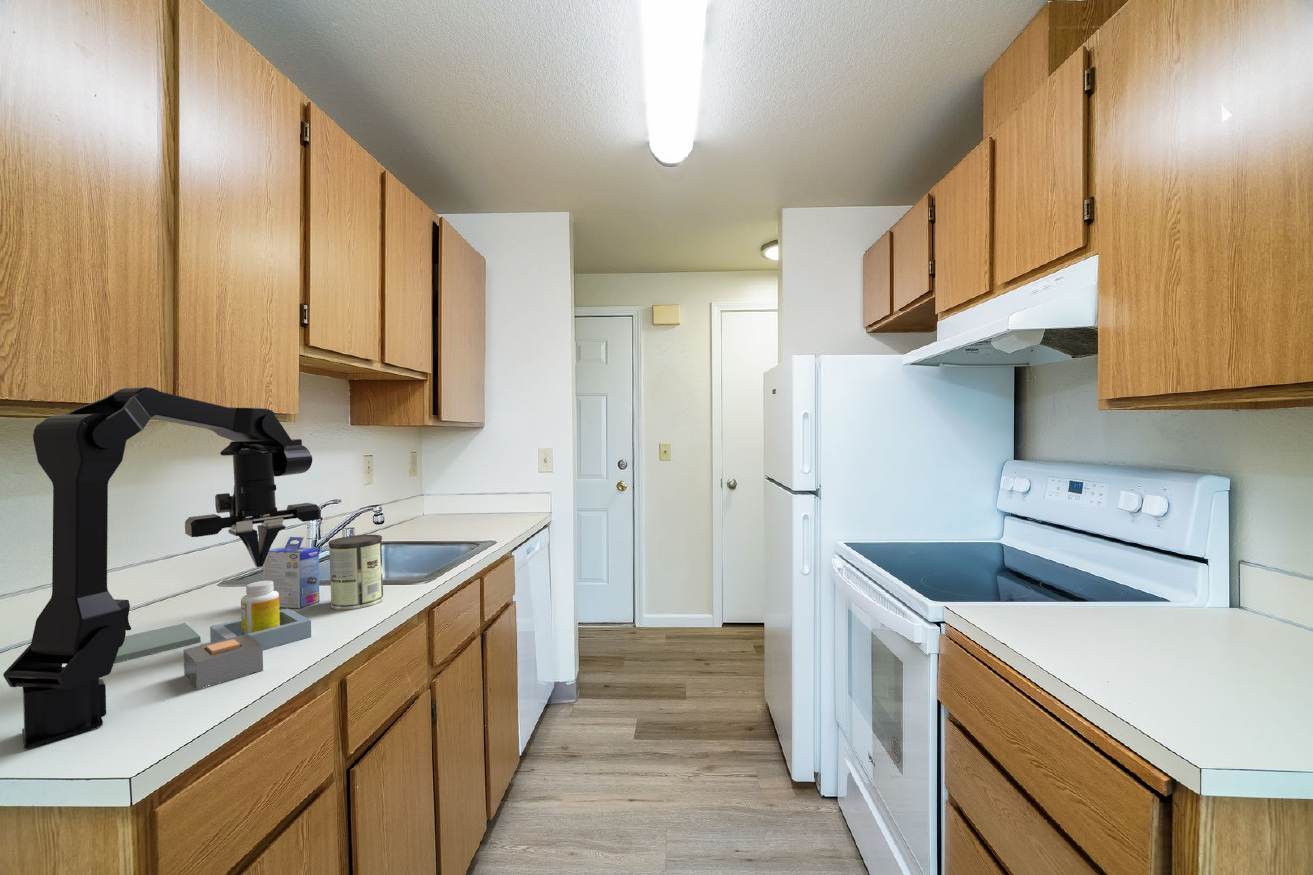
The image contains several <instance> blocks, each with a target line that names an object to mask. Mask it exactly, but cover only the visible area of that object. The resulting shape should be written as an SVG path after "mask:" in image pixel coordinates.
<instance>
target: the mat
mask: <svg viewBox="0 0 1313 875" xmlns="http://www.w3.org/2000/svg"><path fill="white" fill-rule="evenodd" d="M201 639H202V638H201V635H200V634H198V632H196V631H195V630H194V629H193V628H191V627H190V626H189V625H188V624H187V623H186V622H184V623H179V624H175V625H170V626H165V627H160V628H156V629H151V630H148V631H141V632H138V633H133V634H129V635H125V641H124V643H123V645H122V646H121V647H119V650H118V653H117V656H116V659H115V662H114V664H116V662H117V663H120V661H121V662H124V660H125V661H128V660H127V659H129V660H132V659H133V660H134V659H136V658H141V657H145V655H146V656H150V655H153V654H158V653H162V652H166V651H169V650H174V649H179V648H182V647H185V646H191V645H194V644H198V643H201Z"/></svg>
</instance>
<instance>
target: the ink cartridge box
mask: <svg viewBox="0 0 1313 875" xmlns="http://www.w3.org/2000/svg"><path fill="white" fill-rule="evenodd" d="M303 540H304V537H303V536H302V537H301V536H300V537H299V536H289V538H288V540H287V542H286V544H285V546H284V547H277V548H272V549H271V548H270V550H269V552H268V555H267V557H266V559H265V562H264V564H263V566H262V567H263V568H262V569H263V577H262V578H263V580H262V581H273V586H274V590H273V591H277V592H278V593H279V608H286V609H287V608H288V609H290V608H291V609H292V608H293V609H301V608H304V607H307V606H310V605H314V604H317V603H320V550H319V549H320V548H319V547H317V546H316V547H311V546H310V547H309V546H307V547H306V546H305V547H304V546H302V543H303ZM292 541H294V542H295V541H297V543H291V542H292ZM301 546H302V547H301Z"/></svg>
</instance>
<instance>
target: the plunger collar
mask: <svg viewBox="0 0 1313 875" xmlns="http://www.w3.org/2000/svg"><path fill="white" fill-rule="evenodd" d="M232 639H234V640H236V641H237V642H238V643H239V644H240V647H238V648H234V649H230V650H226V651H222V652H218V653H215V654H211V655H210V654H209V653H208V652H207V647H206V646H208V645H212V644H216V643H220V642H224V641H228V640H232ZM263 651H264V650H263V645H262V644H261V643H259V642H258V641H256V640H255V639H254V638H252V637H251V636H249V635H248V634H245V635H241V636H237V637H233V638H229V639H225V640H221V641H217V642H212V643H211V642H209V643H205V644H204V643H203V644H201V645H197V646H193V647H189V648H185V649H183V676H184V677H185V678H186V680H187V681H188V682H189V681H190V682H191V683H190V682H189V683H190V684H191V685H192V686H193V685H194V686H193V688H194V689H195V688H196V689H199V690H202V689H201V688H203V687H206V686H208V685H213V686H215V685H214V684H216V685H218V684H217V683H219V682H223V681H226V682H229V681H232V680H231V679H233V680H236V679H239V678H238V677H240V676H243V677H245V676H244V675H246V676H248V675H247V674H250V673H253V672H256V673H259V672H258V671H260V672H262V670H263V671H264V655H263V654H264V653H263ZM253 674H254V673H253ZM250 675H251V674H250ZM235 678H236V679H235ZM240 678H241V677H240ZM228 680H229V681H228ZM223 683H224V682H223ZM219 684H220V683H219ZM206 688H207V687H206ZM196 689H195V690H196ZM203 689H204V688H203Z"/></svg>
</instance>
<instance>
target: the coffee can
mask: <svg viewBox="0 0 1313 875" xmlns="http://www.w3.org/2000/svg"><path fill="white" fill-rule="evenodd" d="M382 541H383V536H382V535H380V534H358V535H349V536H348V535H347V536H343V537H338V538H334V539H332V540H329V541H328V546H329V550H328V551H329V575H330V576H329V578H330V579H329V580H330V603H331V604H330V608H331V609H333V610H338V611H339V610H341V611H345V610H357V609H362V608H367V607H371V606H374V605H377V604H379V603H381V602H383V601H384V582H383V581H384V580H383V579H384V578H383V551H382V550H383V548H382V545H383V544H382Z"/></svg>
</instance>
